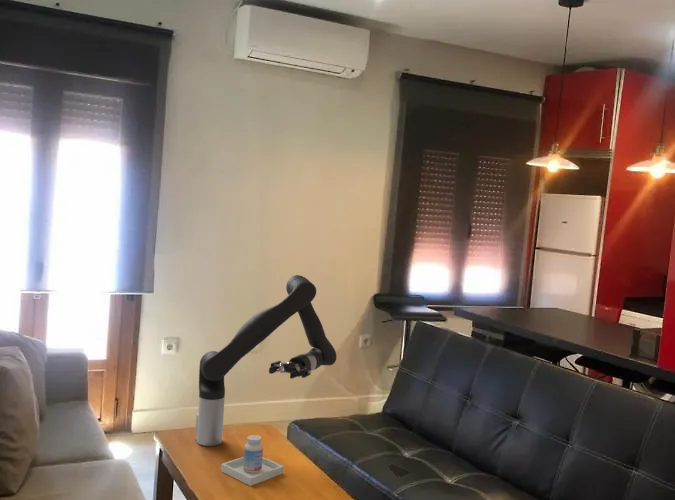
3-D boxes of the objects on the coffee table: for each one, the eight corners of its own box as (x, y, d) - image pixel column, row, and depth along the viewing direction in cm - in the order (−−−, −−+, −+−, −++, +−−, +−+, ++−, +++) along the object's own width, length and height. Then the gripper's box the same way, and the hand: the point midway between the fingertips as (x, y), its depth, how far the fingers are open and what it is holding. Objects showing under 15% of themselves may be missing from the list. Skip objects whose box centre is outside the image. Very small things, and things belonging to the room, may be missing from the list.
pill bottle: (258, 474, 229) (260, 441, 228) (240, 472, 230) (242, 439, 229) (264, 467, 235) (266, 435, 234) (246, 465, 236) (248, 433, 235)
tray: (221, 471, 232) (221, 463, 232) (253, 459, 243) (254, 453, 243) (250, 485, 222) (250, 478, 222) (283, 473, 233) (283, 466, 233)
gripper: (287, 351, 262) (264, 359, 248) (320, 358, 256) (299, 366, 242) (285, 370, 263) (262, 379, 249) (318, 377, 257) (297, 387, 242)
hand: (280, 373), depth 245 cm, fingers open, 8 cm apart
